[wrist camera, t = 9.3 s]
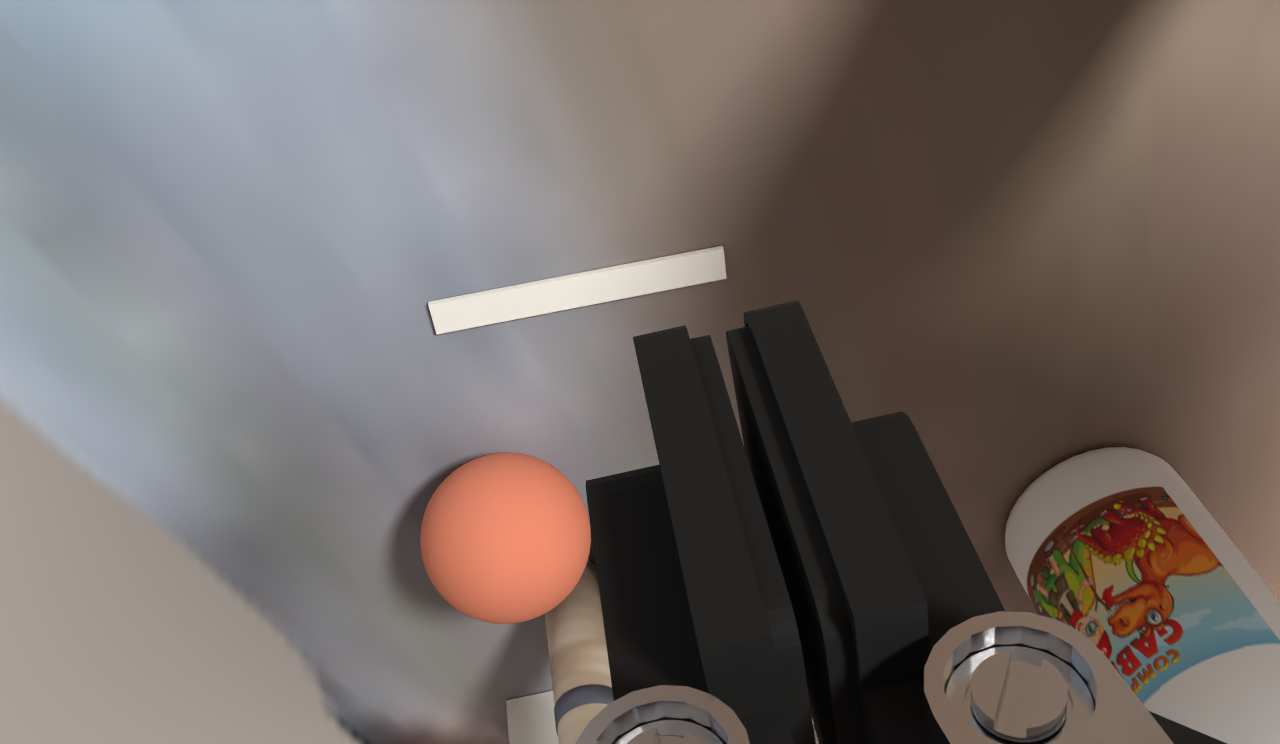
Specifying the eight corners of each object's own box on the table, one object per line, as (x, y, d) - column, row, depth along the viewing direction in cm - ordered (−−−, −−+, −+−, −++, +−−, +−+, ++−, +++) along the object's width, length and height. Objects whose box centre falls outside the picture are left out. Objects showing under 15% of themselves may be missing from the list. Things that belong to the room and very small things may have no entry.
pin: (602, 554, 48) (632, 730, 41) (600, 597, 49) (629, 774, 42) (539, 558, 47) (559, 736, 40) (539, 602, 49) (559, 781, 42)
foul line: (722, 245, 40) (723, 248, 40) (725, 275, 41) (726, 278, 41) (428, 301, 40) (428, 304, 39) (436, 331, 40) (436, 334, 40)
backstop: (796, 640, 52) (815, 694, 50) (799, 669, 54) (817, 723, 51) (506, 700, 52) (510, 758, 49) (514, 728, 53) (519, 786, 51)
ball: (605, 600, 45) (642, 505, 41) (481, 687, 41) (507, 592, 37) (505, 494, 47) (529, 393, 43) (379, 567, 44) (392, 465, 39)
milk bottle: (1195, 430, 49) (1579, 883, 33) (1150, 565, 53) (1468, 1021, 37) (1015, 450, 48) (1319, 926, 32) (985, 586, 52) (1237, 1062, 36)
